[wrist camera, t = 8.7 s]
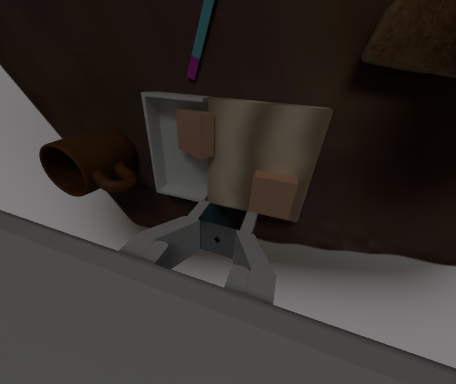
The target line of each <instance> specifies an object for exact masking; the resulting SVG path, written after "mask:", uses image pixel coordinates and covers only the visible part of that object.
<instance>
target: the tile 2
mask: <svg viewBox="0 0 456 384" xmlns="http://www.w3.org/2000/svg"><path fill="white" fill-rule="evenodd" d="M297 186H298V177H294V176H288V175H283V174H277V173H271V172H266V171H260V170H256V171H255V174H254V176H253V182H252V189H251V195H250V202H249V209H248V211H251V212H256V213H259V214H264V215H268V216H272V217H277V218H281V219H286V220H288V217H289V214H290V210H291V207H292V204H293V200H294V197H295V193H296V190H297Z"/></svg>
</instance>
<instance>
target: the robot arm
mask: <svg viewBox="0 0 456 384" xmlns="http://www.w3.org/2000/svg"><path fill="white" fill-rule="evenodd" d="M257 216H258V213H256V212H251V211H245V210H241V209H237V208H232V207H229V206H225V205H221V204H217V203H214V202H210V201H206V200H201V201H200V202H199V203H198V204H197V205H196V207H195V208H194V209H193V210H192V211H191V212H190V214H189V215H188V216H187V217H186V216H183V217H180V218H178V219H175V220H172V221H169V222H167V223H164V224H161V225H158V226H155V227H153V228H150V229H147V230H145V231H142V232H139V233H138V234H136V235H135V236H134V237H133V238H132V239H131V240H130V241H129V242H128V243H127V244H126V245H125V246H123V247H122V249H120V250H119V251H116V250H114V249H110V248H107V247H105V246H102V245H99V244H96V243H93V242H91V241H88V240H85V239H82V238H79V237H76V236H73V235H70V234H67V233H64V232H62V231H59V230H56V229H53V228H50V227H47V226H44V225H42V224H38V223H35V222H33V221H30V220H27V219H24V218H21V217H18V216H16V215H13V214H10V213H7V212H4V211H1V210H0V384H456V369H455V368H453V367H450V366H447V365H444V364H441V363H438V362H435V361H432V360H429V359H426V358H424V357H421V356H418V355H415V354H412V353H409V352H406V351H404V350H401V349H398V348H395V347H392V346H389V345H386V344H383V343H380V342H378V341H375V340H372V339H369V338H366V337H363V336H360V335H358V334H355V333H352V332H349V331H346V330H343V329H341V328H338V327H335V326H332V325H329V324H326V323H323V322H320V321H318V320H314V319H312V318H309V317H306V316H303V315H300V314H297V313H295V312H292V311H289V310H286V309H283V308H280V307H277V306H275V305H273V300H274V290H275V280H276V275H275V273H274V272H273V269H272V267H271V266H270V264H269V262H268V260H267V258H266V256H265V254H264V252H263V250H262V249H261V246H260V244H259V243H258V241H257V239H256V237H255V235H254V231H255V226H256V221H257ZM200 249H203V250H206V251H210V252H213V253H217V254H220V255H223V256H226V257H229V258H232V259H233V263H234V265H233V266H232V268H231V271H230V274H229V276H228V279H227V282H226V285H225V287H224V288H223V287H220V286H217V285H214V284H211V283H208V282H205V281H203V280H200V279H197V278H194V277H191V276H188V275H185V274H182V273H180V272H177V271H174V270H172V268H173V267H175V266H176V265H178V264H179V263H181V262H182V261H184V260H185V259H187V258H188V257H190V256H192V255H193V254H195V253H196V252H198V251H199V250H200Z"/></svg>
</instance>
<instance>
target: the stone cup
mask: <svg viewBox="0 0 456 384" xmlns="http://www.w3.org/2000/svg"><path fill="white" fill-rule="evenodd" d="M361 59H362V60H363V61H365V62H367V63H371V64H375V65H379V66H384V67H391V68H394V69H399V70H405V71H411V72H418V73H429V74H436V75H441V76H447V77H453V78H456V0H394V1H393V3H392V4H391V5H390V6H389V7H388V8H387V9H386V10H385V12H384V13H383V16H382V18H381V19H380V21H379V23H378V25H377V26H376V28H375V30H374V32H373V34H372V35H371V37H370V40H369V42H368V44H367V46H366V47H365V49H364V51H363V52H362V57H361Z"/></svg>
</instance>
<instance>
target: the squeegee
mask: <svg viewBox="0 0 456 384" xmlns="http://www.w3.org/2000/svg"><path fill="white" fill-rule="evenodd" d="M214 1H215V0H204V3H203V7H202V12H201V16H200V21H199V25H198V30H197V34H196V39H195V43H194V47H193V52H192V56H191V61H190V65H189V70H188V74H187V77H189V78H191V79H193V80H195V76H196V72H197V68H198V64H199V60H200V57H201V53H202V49H203V45H204V41H205V37H206V33H207V29H208V25H209V21H210V17H211V13H212V9H213V5H214Z"/></svg>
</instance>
